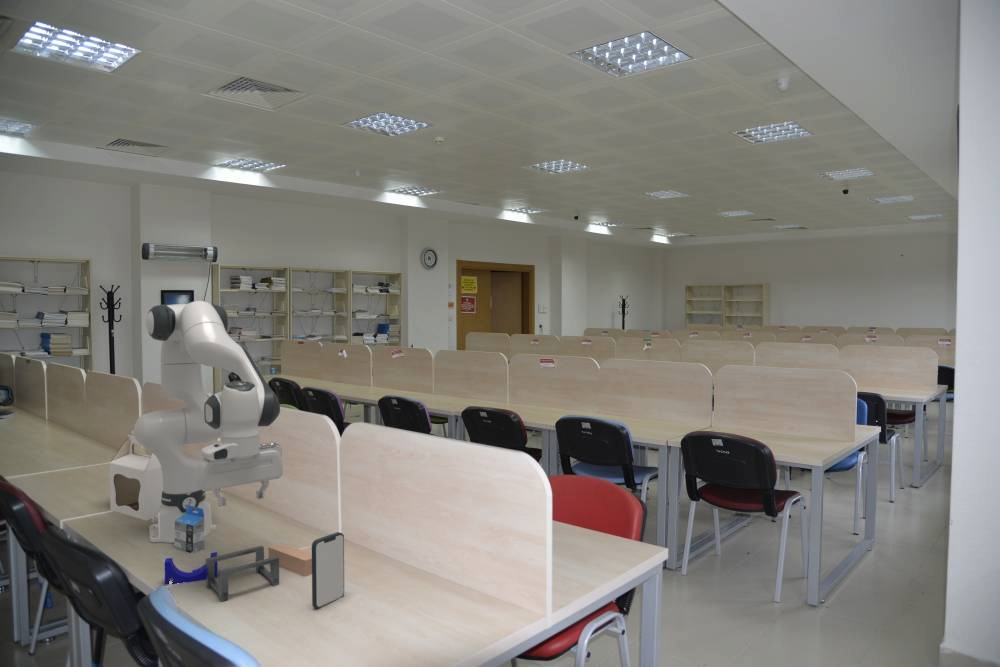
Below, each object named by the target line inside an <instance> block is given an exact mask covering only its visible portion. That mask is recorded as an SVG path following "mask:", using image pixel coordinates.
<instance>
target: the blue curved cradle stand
mask: <svg viewBox="0 0 1000 667" xmlns="http://www.w3.org/2000/svg"><path fill="white" fill-rule="evenodd" d="M215 556H218V552H217V551H216V552H210V557H209V558H211V557H215ZM218 565H219V564H218V561H217V562H215V579H217V578H218V573H219V570H218ZM170 580H173V581H172V582H173V583H172V585H178V584H177V583H179V584H184V583H183V582H186V583H192V582H193V581H194V582H198V581H205V580H206V563H204V564H203V565H202V566H201V567H199V568H195V569H192V571H191V572H188V571H187V572H186V571H183V570H181V569H179V568H178V567H177V566H176V565H175V563H174V559H173V557H168V558H165V560H164V585H165V584H169V581H170Z"/></svg>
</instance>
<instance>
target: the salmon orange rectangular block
mask: <svg viewBox="0 0 1000 667" xmlns="http://www.w3.org/2000/svg"><path fill="white" fill-rule="evenodd" d="M267 550H268V558H272V557H276V556H277V557H278V558H279V568H283V569H285V570H288V571H290V572H293V573H295V574H299V575H300V576H302V577H307V576H311V575H312V552H309V551H305V550H303V549H299V548H296V547H294V546H291V545H288V544H285V543H282V542H280V543H278V544H273V545H271V546H268V549H267Z"/></svg>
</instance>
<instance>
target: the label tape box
mask: <svg viewBox="0 0 1000 667" xmlns="http://www.w3.org/2000/svg"><path fill="white" fill-rule="evenodd" d="M185 508H186V513H185V514H184V515H182V516H181V517H180V518H178V519H177V520H175V540H174V543H173V544H174V546H173V547H174V549H175V550H180V551H183V552H186V553H190V554H195V553H198V552H200V551H202V550H205V536H204V511H203V509H202V508H198V507H194V506H189V505H185ZM192 510H195V511H198V513H195V512H192Z"/></svg>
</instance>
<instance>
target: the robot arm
mask: <svg viewBox="0 0 1000 667" xmlns="http://www.w3.org/2000/svg"><path fill="white" fill-rule="evenodd" d="M145 325H146V330H147V331H148V334H149V336H150V337H151V338H152V339H153V340H157V341H160V342H161V341H162V342H161V348H160V387H161V389H162V391H163V392H164V393H165V395H168V396H171V397H173V398H174V399H178V400H180V401H182V403H183V407H181V408H173V409H163V410H162V409H161V410H155V411H151V412H147V413H144V414H141V415H140V416H139V417H138V418H137V420H136V421H135V423H134V428H133V430H134V435H135V438H136V440H137V441H138V442H139V444H141V446H142V448H146V449H147V450H148V451H150V452H151V454H152V453H153V454H154V455H155V456H156V457H157V459H158V460H159V462H160V465H161V468H162V475H163V491H162V495H161V503H162V504H161V506H160V507H159V509H158V510H157V515H151V519H150V520H151V521H150V522H151V523H152V524H150V525H149V527H148V531H149V533H148V534H149V543H168V544H169V543H170V544H171V543H173V544H174V540H175V520H177V519H178V518H180V517H181V516H182V515H184V514H185V513H186V508H185V505H189V506H194V507H198V508H202V509H203V511H204V537H205V536H206V535H208V534H209V533H210V532H211V531H212V530H214V529H215V528H217V524H214V523H212V511H211V503H209V502H208V501H206V492H207V491H212V493H213V495H214V496H215V497H216V498H217V505H218V507H223V506H227V498H226V497H225V496H221V494H220V493H222V489H226V488H231V487H239V486H242V485H249V484H254V483H255V484H256V483H260V484H261V486H260V488H259V490H256V491H255V492H256V495H255V497H256V499H258V500H260V499H261V500H262V499H265V491H267V488H268V487H269V484H270V481H272V480H277V479H281V477H282V475H283V474H284V472H283V462H282V454H283V451H282V450H283V449H282V446H281V445H280V444H279V443H277V442H270V443H261V441H260V440H261V438H260V436H261V435H260V432H261V431H260V428H259V427H269V426H270V425H272V424H273V423H274V422H275V421H276V419H278V417H279V415H280V414H281V405H280V400H279V397H278V396H277V394H276V393H275V392H274V391H273V390H272V388H271V387H270V386H269V385H268V383H267V381H266V380H265V378H264V376H263V375H262V373H261V371H260V369H259V368H258V366H257V364H256V363H255V361H254V359H253V358H252V356H251V355H250V353H249V352H248V350H247V349H246V348H245V347H244V346H242V345H240V344H238V343H237V342H236V341H235V340H233V339H232V338H231V337H230V335H229V334H228V331H227V330H228V327H229V317H228V313H227V311H226V309H225V308H224V307H223V306H221V305H217V304H212V303H210V302H207V301H205V300H204V301H203V300H196V301H194V300H193V301H191V302H189V303H175V304H165V303H164V304H159V305H154V306H152V307H151V308H150V309H149V310H148V313H147V315H146V320H145ZM202 365H203V366H206V367H212V368H218V369H222V370H226V371H229V372H232V373H234V374H235V375H237V376H238V377H239V379H240V380H234V381H229V382H227V383H224V385H223V388H222V390H221V391H220V392H216V393H214V394H211V395H210V396H209V397H208V396H207V394H206V392H205V389H204V386H203V377H202V376H203V375H202ZM218 439H221V440H219V441H217V442H214V443H212V444H210V445H207V446H205V447H203V448H202V449H201V451H200V454H201V456H202V459H199V458H198V457H195V456H193V455H192V454H188V453H184V452H182V448H181V447H182V446H184V445H192V444H193V445H194V444H200V443H201V444H202V443H207V442H210V441H215V440H218ZM192 512H195V513H198V511H195V510H192ZM153 523H154V524H153Z"/></svg>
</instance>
